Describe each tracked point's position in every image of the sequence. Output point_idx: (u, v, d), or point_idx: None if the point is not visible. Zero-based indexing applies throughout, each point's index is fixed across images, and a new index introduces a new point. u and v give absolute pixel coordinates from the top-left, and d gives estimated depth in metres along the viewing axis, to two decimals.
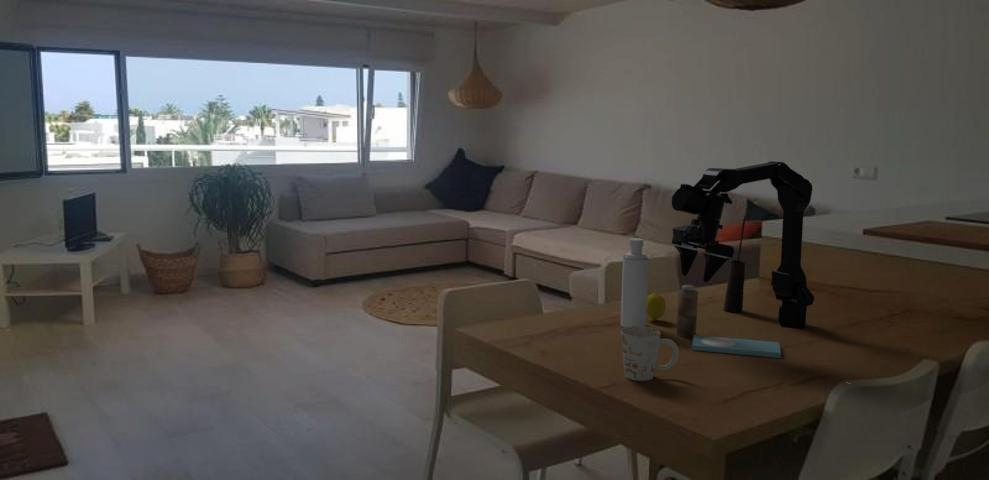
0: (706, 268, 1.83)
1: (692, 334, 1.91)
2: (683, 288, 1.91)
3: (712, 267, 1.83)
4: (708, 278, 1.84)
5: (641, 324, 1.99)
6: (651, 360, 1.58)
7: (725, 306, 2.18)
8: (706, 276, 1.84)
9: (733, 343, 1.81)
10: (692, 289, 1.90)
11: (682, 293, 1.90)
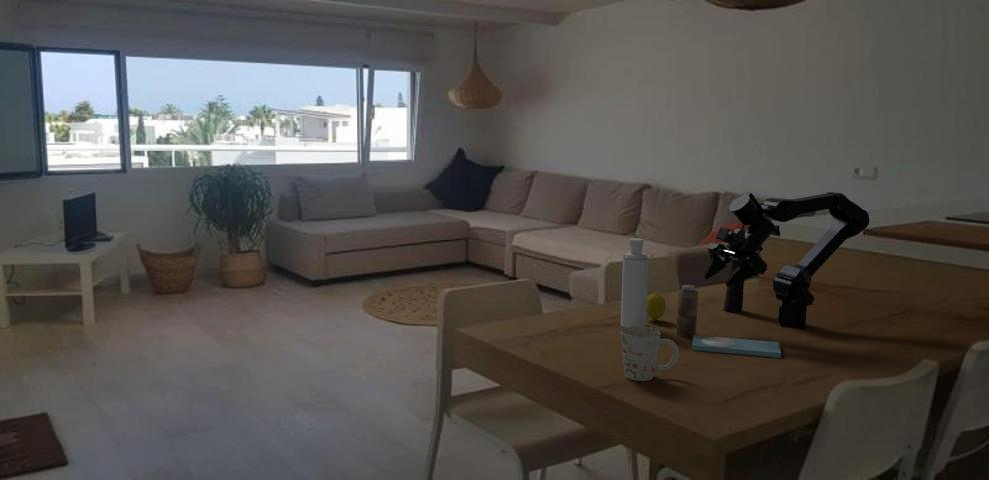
0: (734, 272, 1.89)
1: (692, 334, 1.91)
2: (683, 288, 1.91)
3: (739, 275, 1.89)
4: (730, 283, 1.89)
5: (641, 324, 1.99)
6: (651, 360, 1.58)
7: (725, 306, 2.18)
8: (730, 280, 1.89)
9: (733, 343, 1.81)
10: (692, 289, 1.90)
11: (682, 293, 1.90)
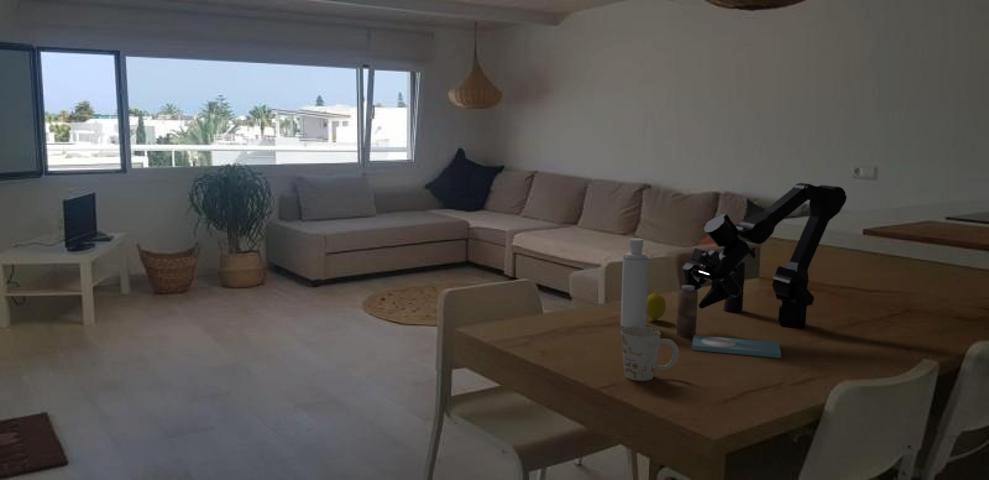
0: (707, 294, 1.87)
1: (692, 334, 1.91)
2: (683, 288, 1.91)
3: (713, 297, 1.87)
4: (704, 305, 1.88)
5: (641, 324, 1.99)
6: (651, 360, 1.58)
7: (725, 306, 2.18)
8: (703, 302, 1.87)
9: (733, 343, 1.81)
10: (692, 289, 1.90)
11: (682, 293, 1.90)
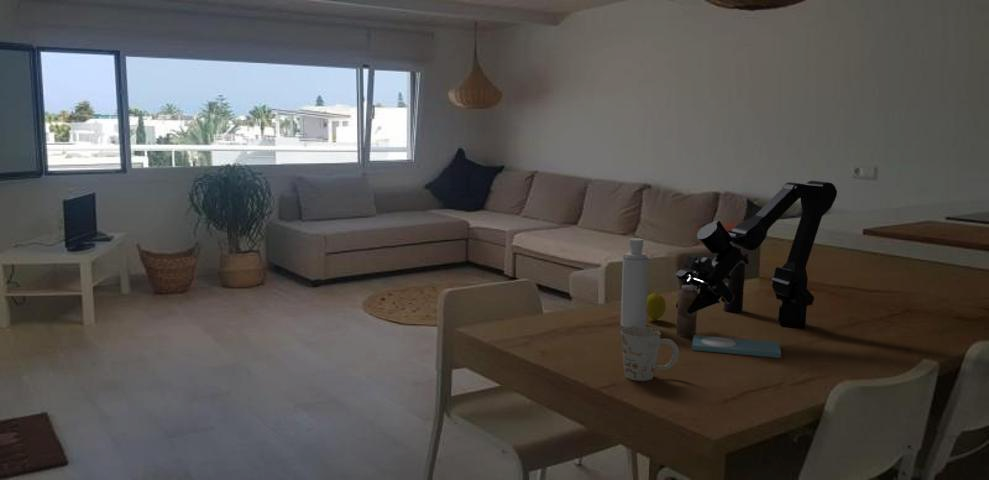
0: (696, 300, 1.89)
1: (692, 334, 1.91)
2: (683, 288, 1.91)
3: (701, 302, 1.89)
4: (692, 310, 1.89)
5: (641, 324, 1.99)
6: (651, 360, 1.58)
7: (725, 306, 2.18)
8: (692, 307, 1.89)
9: (733, 343, 1.81)
10: (692, 289, 1.90)
11: (682, 293, 1.90)
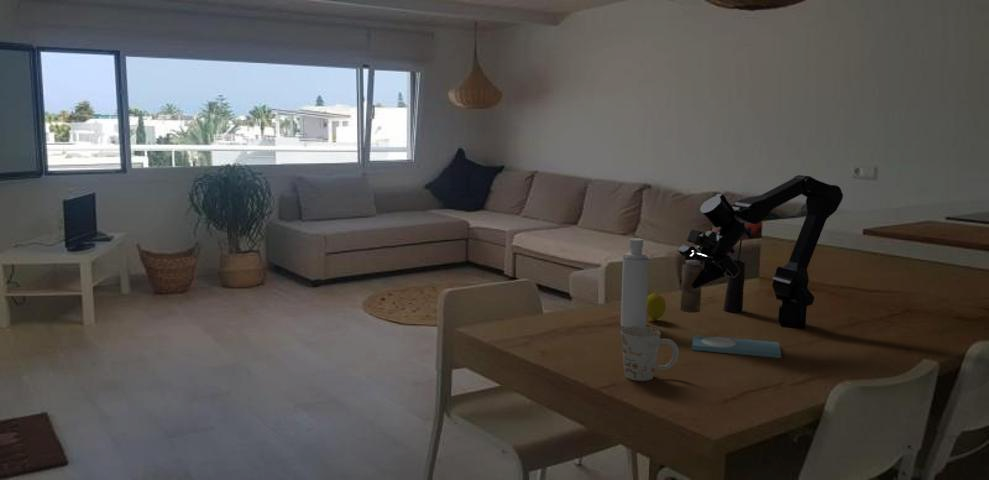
0: (700, 274, 1.87)
1: (697, 309, 1.89)
2: (687, 263, 1.89)
3: (706, 276, 1.87)
4: (697, 285, 1.87)
5: (641, 324, 1.99)
6: (651, 360, 1.58)
7: (725, 306, 2.18)
8: (697, 281, 1.87)
9: (733, 343, 1.81)
10: (696, 263, 1.88)
11: (686, 268, 1.88)
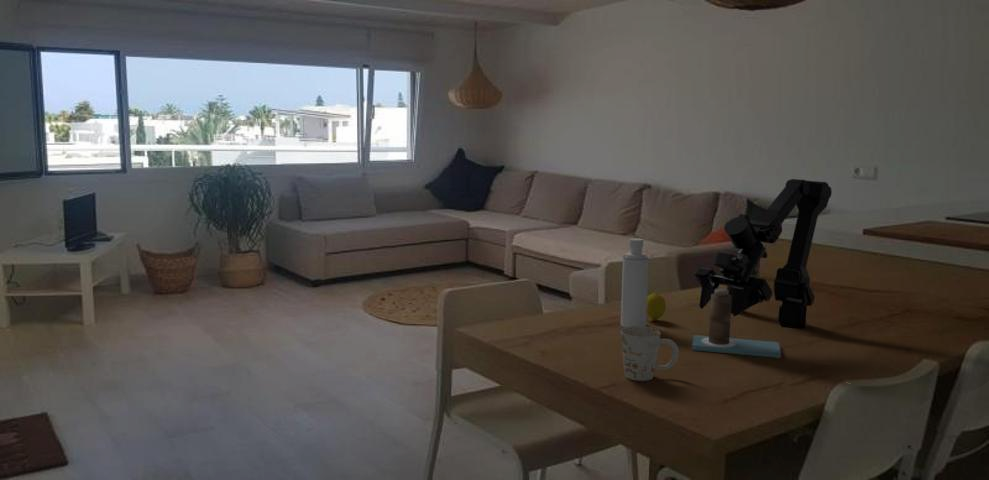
0: (741, 301, 1.77)
1: (728, 340, 1.81)
2: (718, 293, 1.80)
3: (745, 302, 1.77)
4: (737, 312, 1.77)
5: (641, 324, 1.99)
6: (651, 360, 1.58)
7: None
8: (737, 309, 1.77)
9: (733, 343, 1.81)
10: (727, 293, 1.80)
11: (718, 298, 1.79)
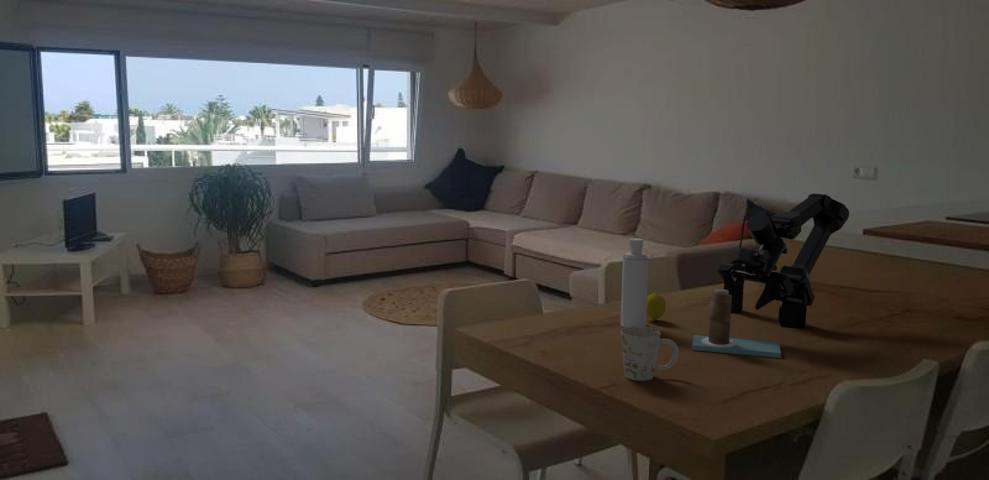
0: (763, 295, 1.83)
1: (728, 340, 1.81)
2: (718, 293, 1.80)
3: (767, 297, 1.83)
4: (760, 306, 1.83)
5: (641, 324, 1.99)
6: (651, 360, 1.58)
7: None
8: (760, 303, 1.83)
9: (733, 343, 1.81)
10: (727, 293, 1.80)
11: (718, 298, 1.79)
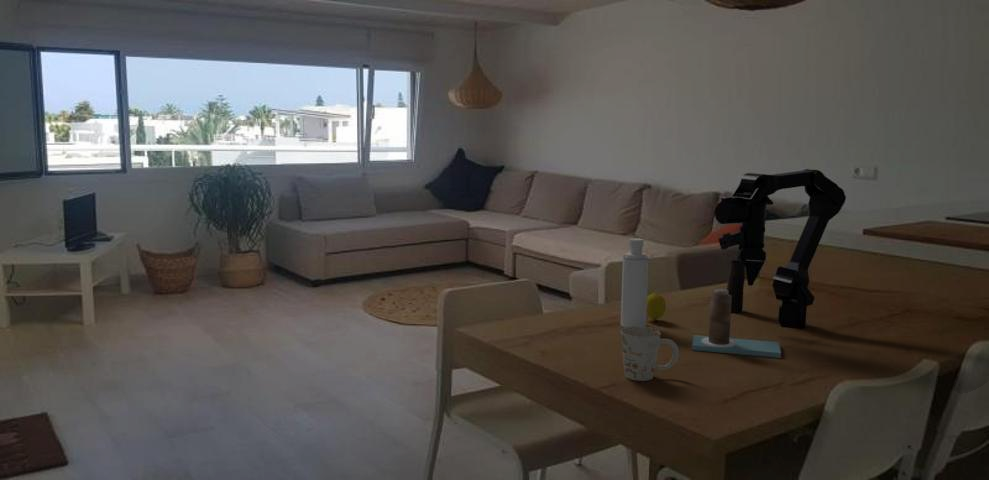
0: (746, 272, 1.91)
1: (728, 340, 1.81)
2: (718, 293, 1.79)
3: (751, 270, 1.90)
4: (751, 281, 1.91)
5: (641, 324, 1.99)
6: (651, 360, 1.58)
7: None
8: (748, 279, 1.91)
9: (733, 343, 1.81)
10: (727, 293, 1.80)
11: (718, 298, 1.79)
